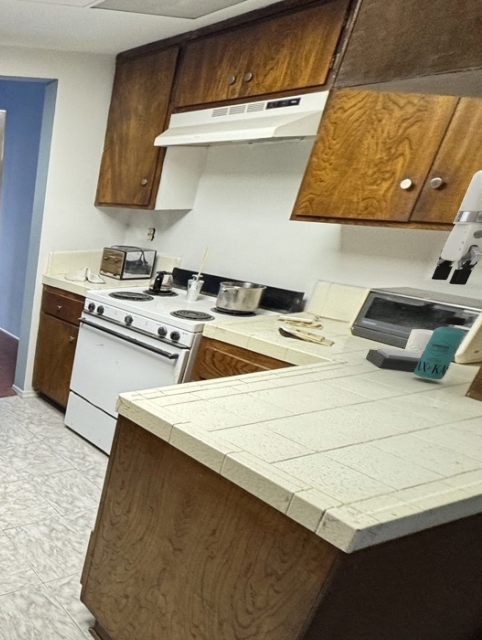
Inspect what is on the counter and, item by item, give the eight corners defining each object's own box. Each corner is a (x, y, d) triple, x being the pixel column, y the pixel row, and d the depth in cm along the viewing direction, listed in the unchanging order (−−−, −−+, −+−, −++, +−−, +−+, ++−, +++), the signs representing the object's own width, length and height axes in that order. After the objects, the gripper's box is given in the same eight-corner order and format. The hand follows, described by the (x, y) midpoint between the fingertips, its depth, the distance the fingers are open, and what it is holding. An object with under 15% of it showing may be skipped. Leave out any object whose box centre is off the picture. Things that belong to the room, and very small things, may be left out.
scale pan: (411, 356, 158) (413, 351, 157) (424, 363, 150) (426, 358, 150) (376, 352, 162) (378, 347, 161) (387, 359, 154) (389, 354, 154)
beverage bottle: (409, 375, 148) (437, 313, 141) (439, 380, 144) (470, 316, 137) (412, 380, 143) (442, 316, 136) (443, 386, 140) (476, 320, 132)
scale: (411, 363, 160) (415, 354, 158) (428, 374, 150) (433, 363, 148) (365, 358, 165) (369, 349, 163) (379, 368, 155) (383, 358, 153)
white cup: (417, 356, 168) (429, 329, 164) (438, 363, 161) (452, 335, 157) (393, 355, 169) (405, 328, 165) (413, 362, 161) (426, 334, 158)
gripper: (516, 219, 119) (484, 287, 125) (476, 218, 133) (449, 279, 140) (474, 219, 122) (445, 285, 129) (440, 217, 137) (415, 277, 143)
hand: (447, 282), depth 134 cm, fingers open, 9 cm apart
